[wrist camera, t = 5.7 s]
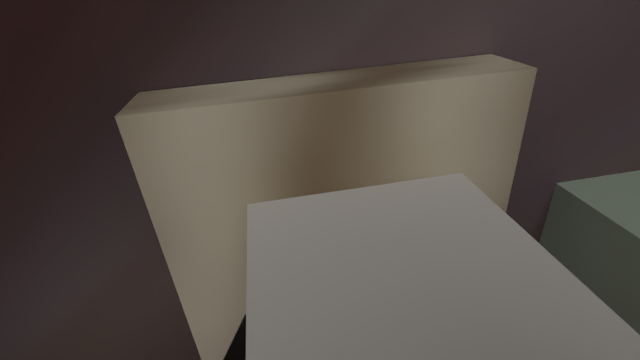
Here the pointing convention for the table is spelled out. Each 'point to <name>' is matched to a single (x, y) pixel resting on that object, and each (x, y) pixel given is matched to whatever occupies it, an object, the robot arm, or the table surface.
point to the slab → (308, 156)
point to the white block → (415, 281)
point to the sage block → (600, 238)
